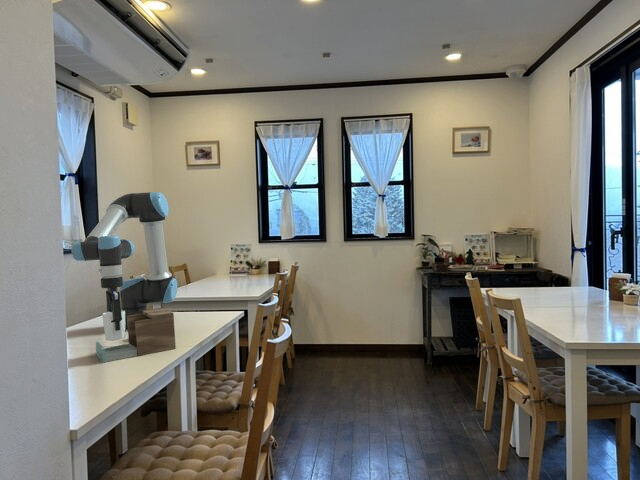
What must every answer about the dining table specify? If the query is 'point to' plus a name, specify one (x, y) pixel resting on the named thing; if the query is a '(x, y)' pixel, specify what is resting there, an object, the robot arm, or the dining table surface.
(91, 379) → the dining table surface
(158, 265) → the robot arm
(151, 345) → the wooden drawer box
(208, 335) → the dining table surface
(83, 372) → the dining table surface
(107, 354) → the teal drawer
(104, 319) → the white cup
